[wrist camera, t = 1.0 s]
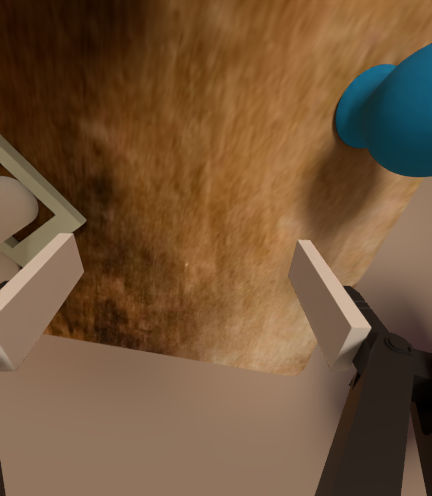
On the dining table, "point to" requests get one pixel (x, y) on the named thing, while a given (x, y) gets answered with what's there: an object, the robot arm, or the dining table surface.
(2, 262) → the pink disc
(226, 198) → the dining table surface
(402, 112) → the vase
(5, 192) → the cup
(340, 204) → the dining table surface
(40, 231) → the pale green rectangular frame
